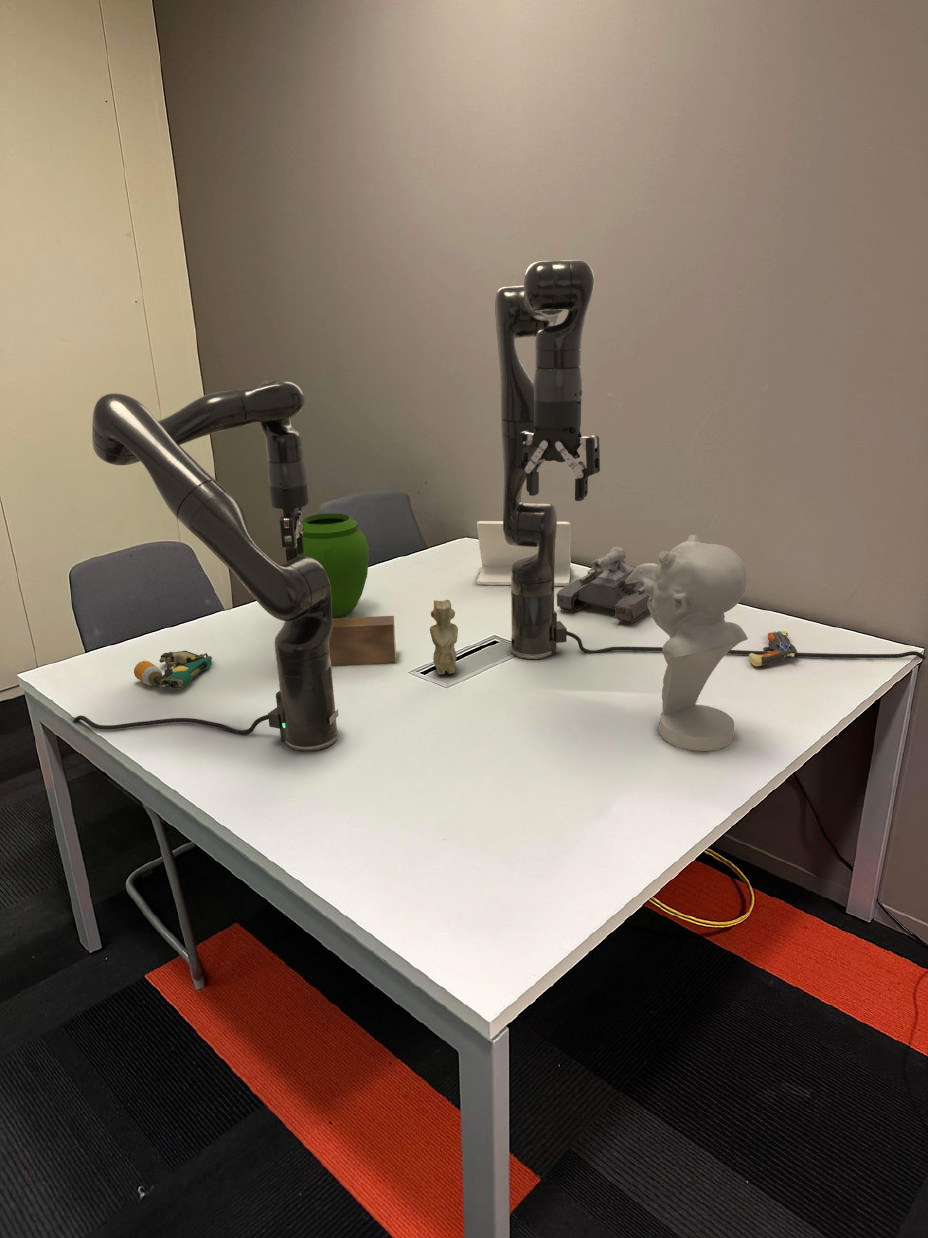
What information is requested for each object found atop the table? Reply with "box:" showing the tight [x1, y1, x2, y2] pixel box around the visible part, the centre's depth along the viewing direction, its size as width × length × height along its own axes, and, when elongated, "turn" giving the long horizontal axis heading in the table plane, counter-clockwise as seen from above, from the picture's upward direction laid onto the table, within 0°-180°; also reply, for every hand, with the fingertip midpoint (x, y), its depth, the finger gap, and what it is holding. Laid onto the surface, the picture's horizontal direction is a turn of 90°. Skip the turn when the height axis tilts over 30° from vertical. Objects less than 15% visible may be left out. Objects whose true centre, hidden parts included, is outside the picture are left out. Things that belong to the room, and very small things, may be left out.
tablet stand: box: [476, 520, 572, 587], centre depth 236 cm, size 18×25×17 cm
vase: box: [290, 512, 370, 618], centre depth 209 cm, size 20×20×24 cm
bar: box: [329, 615, 397, 667], centre depth 185 cm, size 23×5×9 cm, turn 93°
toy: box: [556, 546, 650, 624], centre depth 212 cm, size 25×20×15 cm
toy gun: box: [748, 630, 799, 667], centre depth 183 cm, size 3×19×10 cm
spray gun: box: [133, 650, 213, 690], centre depth 180 cm, size 4×17×15 cm
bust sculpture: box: [625, 534, 749, 752], centre depth 149 cm, size 16×24×35 cm
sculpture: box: [429, 599, 459, 675], centre depth 177 cm, size 6×7×15 cm
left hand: (295, 559), depth 178 cm, fingers open, 8 cm apart
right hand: (556, 497), depth 141 cm, fingers open, 8 cm apart
